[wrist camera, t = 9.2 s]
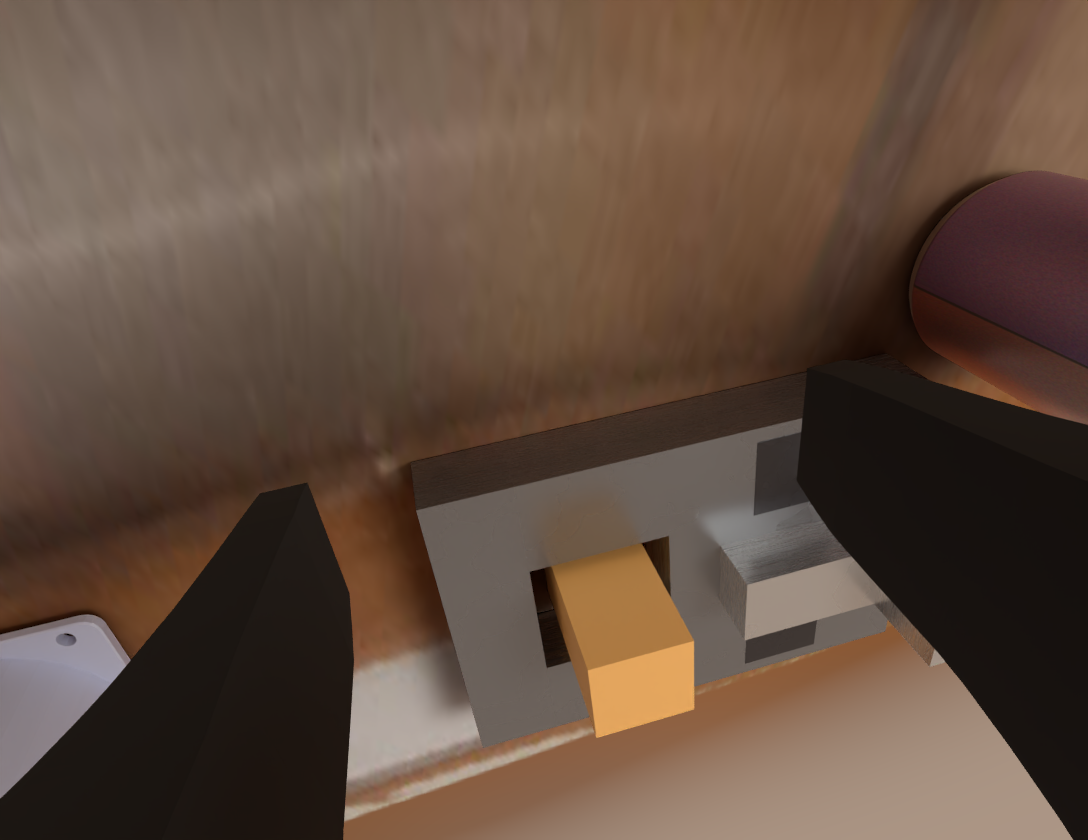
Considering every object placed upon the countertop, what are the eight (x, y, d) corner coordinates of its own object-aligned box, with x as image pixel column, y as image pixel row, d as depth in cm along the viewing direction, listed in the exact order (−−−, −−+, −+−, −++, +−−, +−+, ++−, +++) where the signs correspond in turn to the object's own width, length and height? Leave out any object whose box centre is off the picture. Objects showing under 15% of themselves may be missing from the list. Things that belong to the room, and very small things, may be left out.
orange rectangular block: (547, 591, 25) (596, 737, 20) (538, 528, 23) (587, 670, 18) (626, 570, 25) (694, 709, 20) (622, 507, 23) (693, 640, 18)
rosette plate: (473, 692, 26) (483, 748, 24) (410, 462, 20) (416, 511, 18) (848, 587, 28) (885, 631, 26) (886, 353, 23) (938, 386, 21)
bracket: (719, 600, 23) (787, 709, 20) (720, 545, 22) (794, 652, 18) (887, 554, 24) (982, 650, 20) (898, 499, 23) (1002, 592, 19)
